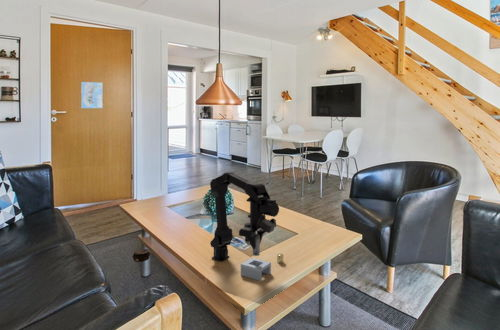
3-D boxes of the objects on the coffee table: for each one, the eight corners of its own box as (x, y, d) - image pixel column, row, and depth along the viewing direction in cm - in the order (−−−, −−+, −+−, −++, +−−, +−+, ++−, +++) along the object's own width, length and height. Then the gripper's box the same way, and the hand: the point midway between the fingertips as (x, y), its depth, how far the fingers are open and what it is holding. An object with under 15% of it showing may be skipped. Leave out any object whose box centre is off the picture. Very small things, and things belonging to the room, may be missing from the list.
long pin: (251, 254, 132) (251, 234, 131) (255, 252, 135) (255, 233, 134) (257, 256, 130) (257, 235, 130) (260, 254, 133) (261, 234, 132)
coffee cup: (151, 272, 156) (151, 247, 155) (150, 279, 148) (149, 253, 147) (134, 273, 154) (133, 248, 153) (131, 281, 146) (130, 254, 145)
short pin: (275, 264, 144) (276, 255, 144) (278, 262, 147) (278, 253, 147) (281, 265, 143) (281, 256, 143) (284, 263, 145) (284, 254, 145)
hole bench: (240, 275, 132) (240, 264, 132) (251, 268, 140) (251, 257, 139) (260, 280, 127) (260, 269, 126) (270, 273, 134) (270, 262, 134)
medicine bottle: (245, 246, 169) (245, 225, 169) (241, 242, 176) (242, 222, 175) (257, 245, 171) (257, 224, 170) (253, 241, 178) (253, 221, 177)
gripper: (261, 219, 119) (260, 258, 120) (282, 211, 135) (282, 245, 136) (238, 215, 125) (238, 252, 126) (261, 208, 141) (261, 240, 142)
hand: (256, 247), depth 132 cm, fingers closed on long pin, 3 cm apart
